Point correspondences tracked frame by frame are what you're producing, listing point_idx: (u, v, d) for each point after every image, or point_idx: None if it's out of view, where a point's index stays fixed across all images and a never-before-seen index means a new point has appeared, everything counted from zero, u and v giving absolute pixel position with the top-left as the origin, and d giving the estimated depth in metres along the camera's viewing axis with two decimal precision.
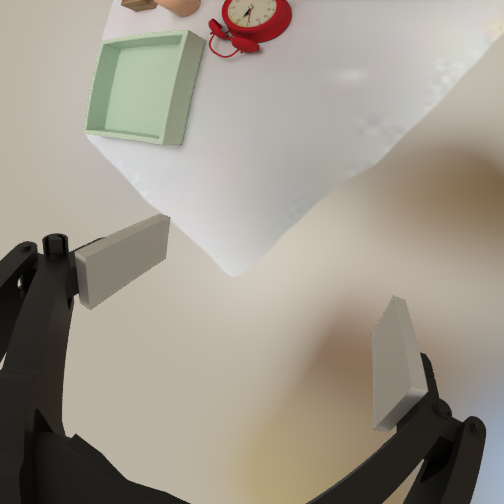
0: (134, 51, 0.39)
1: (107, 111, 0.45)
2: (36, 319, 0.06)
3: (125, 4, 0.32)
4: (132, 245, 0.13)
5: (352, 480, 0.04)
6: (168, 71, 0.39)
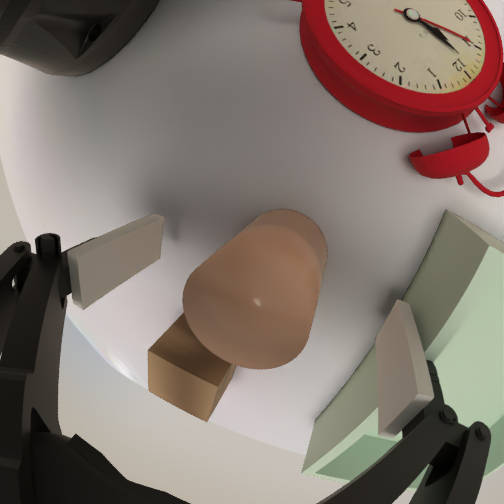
0: None
1: None
2: (30, 319, 0.06)
3: (210, 412, 0.18)
4: (125, 245, 0.13)
5: (357, 485, 0.04)
6: (479, 327, 0.13)
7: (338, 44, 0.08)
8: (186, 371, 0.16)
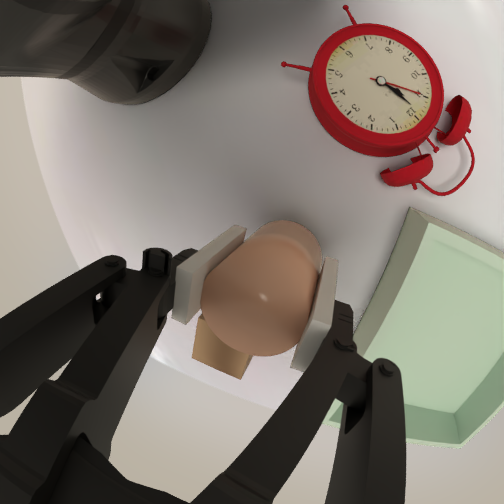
0: None
1: (434, 409, 0.23)
2: (113, 338, 0.07)
3: (244, 370, 0.24)
4: (221, 257, 0.14)
5: (271, 425, 0.06)
6: (445, 292, 0.20)
7: (333, 105, 0.16)
8: None
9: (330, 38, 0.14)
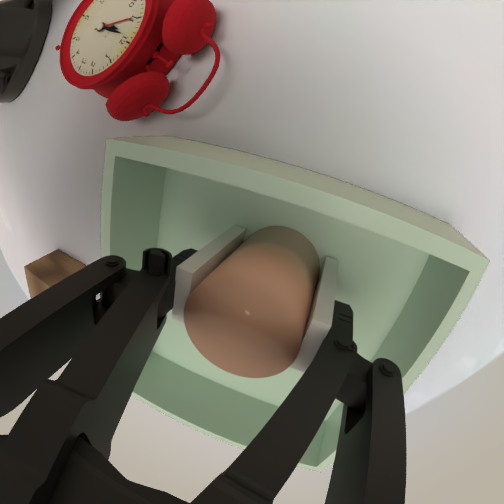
0: None
1: None
2: (113, 338, 0.07)
3: None
4: (221, 257, 0.14)
5: (271, 426, 0.06)
6: None
7: (71, 67, 0.13)
8: (38, 277, 0.20)
9: (74, 12, 0.11)
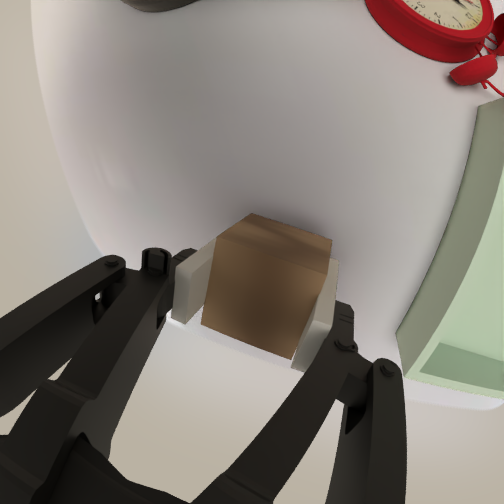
0: None
1: None
2: (113, 338, 0.07)
3: None
4: None
5: (271, 426, 0.06)
6: None
7: (400, 0, 0.10)
8: (278, 258, 0.12)
9: None
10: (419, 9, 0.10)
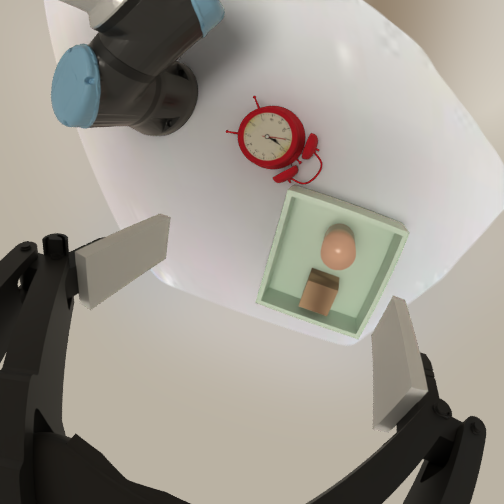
0: (279, 269, 0.49)
1: (338, 311, 0.49)
2: (36, 319, 0.06)
3: (329, 310, 0.44)
4: (132, 245, 0.13)
5: (352, 480, 0.04)
6: (320, 228, 0.45)
7: (247, 150, 0.41)
8: (325, 286, 0.42)
9: (244, 118, 0.39)
10: (255, 153, 0.41)
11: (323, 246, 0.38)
